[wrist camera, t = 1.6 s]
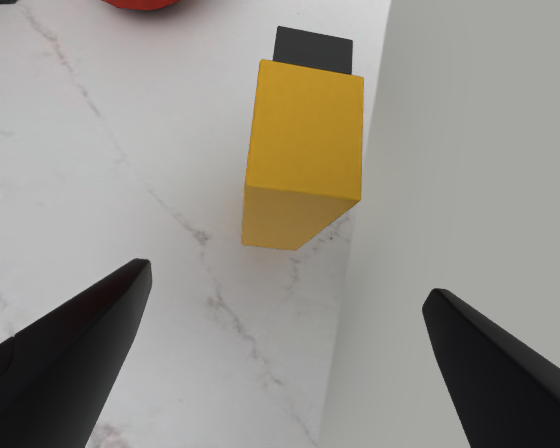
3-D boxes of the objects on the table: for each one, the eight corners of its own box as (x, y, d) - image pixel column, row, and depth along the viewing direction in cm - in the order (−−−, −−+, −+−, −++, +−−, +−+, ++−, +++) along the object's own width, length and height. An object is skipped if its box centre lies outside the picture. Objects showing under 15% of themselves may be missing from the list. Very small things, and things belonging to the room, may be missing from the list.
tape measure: (296, 250, 22) (362, 200, 10) (241, 244, 21) (244, 185, 10) (302, 167, 23) (365, 41, 12) (251, 160, 23) (264, 22, 11)
